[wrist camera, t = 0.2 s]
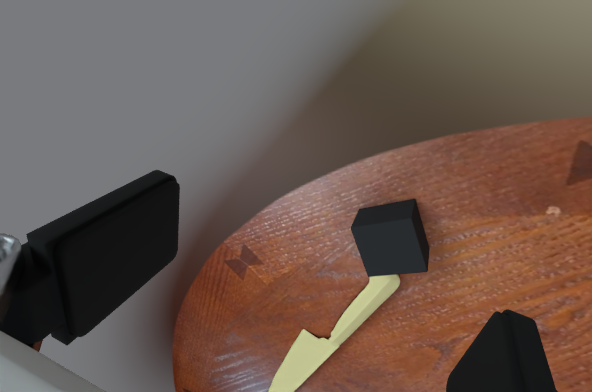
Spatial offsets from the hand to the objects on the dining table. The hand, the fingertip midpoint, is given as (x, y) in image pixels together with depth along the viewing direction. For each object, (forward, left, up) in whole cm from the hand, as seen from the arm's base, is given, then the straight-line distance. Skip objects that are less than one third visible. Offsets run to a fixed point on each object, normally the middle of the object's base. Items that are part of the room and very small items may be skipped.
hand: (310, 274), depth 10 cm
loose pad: (+10, -3, -21) cm, 23 cm away
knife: (+24, -17, -21) cm, 36 cm away
